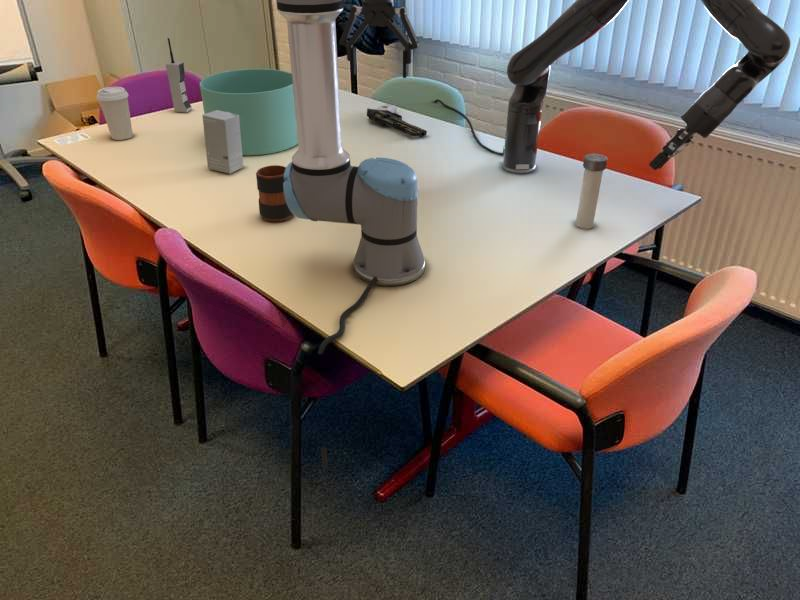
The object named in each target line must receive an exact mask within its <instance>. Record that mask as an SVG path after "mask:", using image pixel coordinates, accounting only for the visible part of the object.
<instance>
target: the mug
mask: <svg viewBox="0 0 800 600" xmlns="http://www.w3.org/2000/svg"><path fill="white" fill-rule="evenodd" d="M286 167H287V166H283V165H277V164H274V165H268V166H263V167H260V168H259V169H257V171H256V173H255V176H256V178H255V179H256V187H257V188H256V189H257V190H258V211H259V215H260V217H261V218H262V219H263V220H264V221H267V222H272V223H273V222H275V223H276V222H277V223H278V222H283V221H287V220H289V219H291V218H292V217H293V215H294V214H293V213H292V212H291V211H290V209H289V208H288V205H287V203H286V199H285V195H284V188H283V183H284V182H285V180H284V172H285V169H286Z"/></svg>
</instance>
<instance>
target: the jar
mask: <svg viewBox="0 0 800 600" xmlns="http://www.w3.org/2000/svg"><path fill="white" fill-rule="evenodd" d="M603 173H604V170H603V171H590V170H587V169H585V168H584V172H583V177H582V184H581V189H580V196H579V200H578V201H579V202H578V206H577V207H578V208H577V213H576V220H575V226H576V227H578V228H580V229H585V230H588V229H592V228H593V227H594V223H595V218H596V211H597V206H598V202H599V201H598V200H599V196H600V189H601V185H602V178H603Z"/></svg>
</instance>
